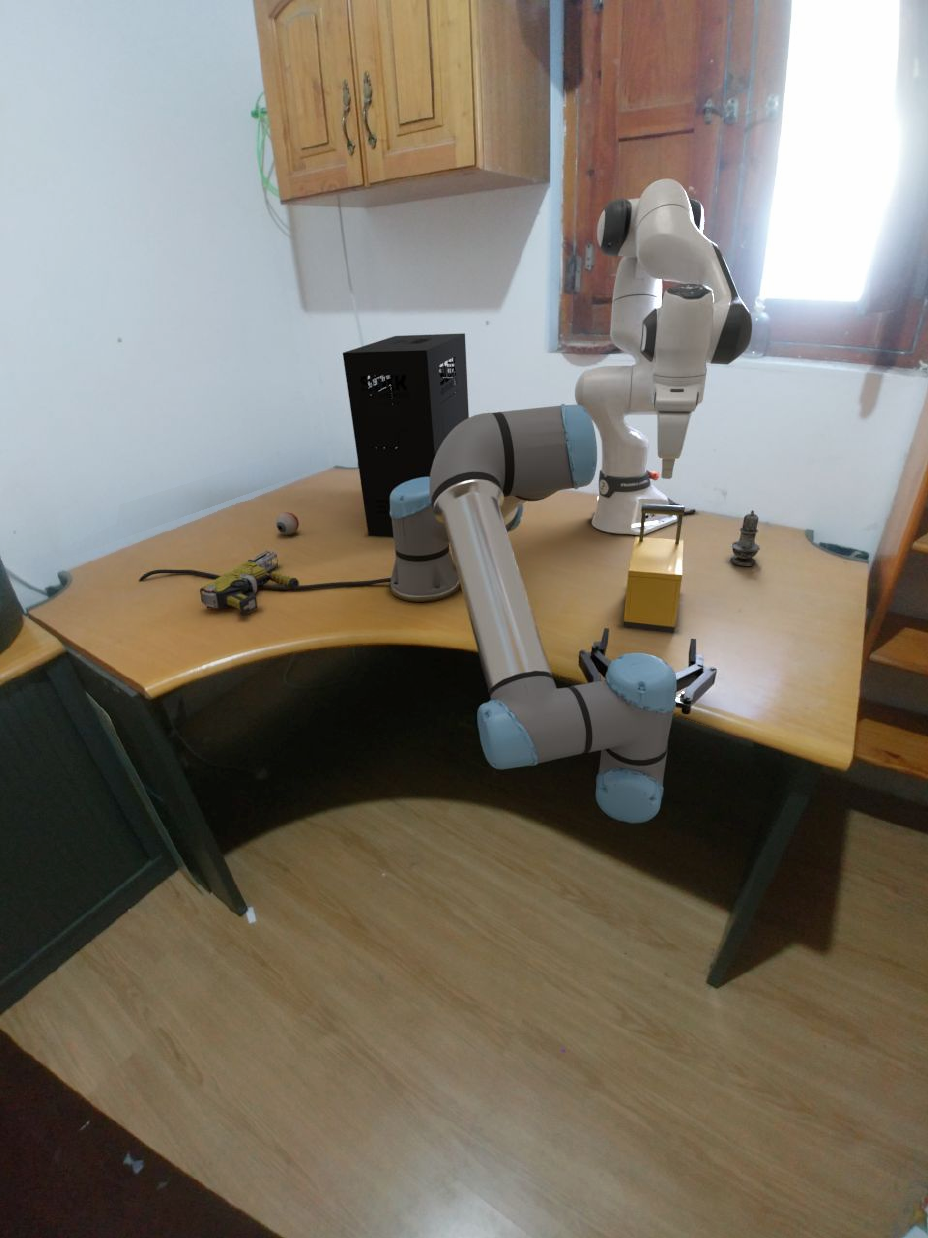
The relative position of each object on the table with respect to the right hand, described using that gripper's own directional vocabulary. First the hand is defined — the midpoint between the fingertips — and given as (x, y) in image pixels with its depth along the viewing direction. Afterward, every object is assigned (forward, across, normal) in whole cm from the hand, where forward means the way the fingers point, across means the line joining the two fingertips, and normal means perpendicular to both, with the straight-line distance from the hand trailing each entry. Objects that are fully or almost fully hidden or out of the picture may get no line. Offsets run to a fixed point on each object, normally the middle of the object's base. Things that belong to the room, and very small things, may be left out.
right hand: (667, 469), depth 112 cm
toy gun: (+26, +17, -83) cm, 89 cm away
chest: (+26, +6, 0) cm, 27 cm away
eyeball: (+26, -15, -96) cm, 101 cm away
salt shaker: (+26, -21, +18) cm, 38 cm away
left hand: (+20, +28, 0) cm, 34 cm away
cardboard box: (+26, -38, -66) cm, 80 cm away
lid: (+16, +6, 0) cm, 17 cm away
